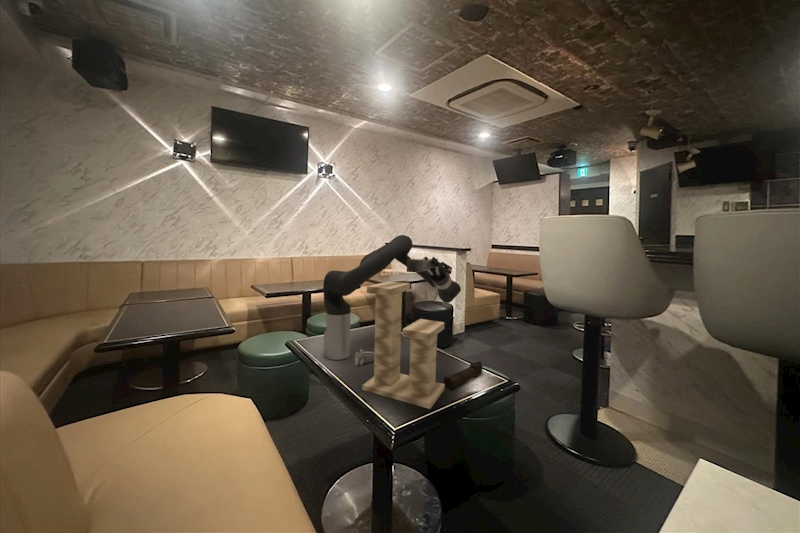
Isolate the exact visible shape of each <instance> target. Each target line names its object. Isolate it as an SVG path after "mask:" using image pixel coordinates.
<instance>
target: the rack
mask: <svg viewBox="0 0 800 533" xmlns="http://www.w3.org/2000/svg"><path fill="white" fill-rule="evenodd" d="M410 287H411V284H410V283H408V282H398V281H387V280H386V281H384V282H380V283H375V284H369V285H366V294H371V295H375V303H374V304H375V311H374V312H375V313H374V352H373V353H374V357H373V359H374V360H373V361H374V362H373V365H374V366H373V368H374V369H373V377H371V378H370V379H369V380H367V381H366V382H364V383H363V384H362V386H361V388H362V389H361V390H362V391H365V392H369V393H372V394H376V395H379V396H382V397H386V398H390V399H393V400H397V401H399V402H404V403H408V404H410V405H414V406H417V407H421V408H425V409H429V410H431V409H432V407H433V406H434V404H436V403H437V402H436V401H438V399H439V398H440V396H441V395H442V393H443V392H444V391H445V389H446V387H445V384H444V383H441V382H437V381H436V377H437V376H436V374H437V373H436V372H437V371H436V370H437V350H438V349H437V346H438V334H439V333H441V332H442V331H443V330H444V329H445V321H438V320H433V319H432V320H431V319H424V318H419V319H417V320H415V321H414V322H412V323H411V324H409V325H407V326H406V327H404V328H402V310H403V309H402V308H403V302H402V301H403V292H407V291H409V290H410V289H411V288H410ZM402 337H405V338H410V340H409V342H410V344H409V346H410V347H409V371H408V372H409V374H404V373H402V372H401V355H400V354H401V346H402V345H401V344H402V342H401V341H402Z"/></svg>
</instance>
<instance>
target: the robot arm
mask: <svg viewBox="0 0 800 533" xmlns="http://www.w3.org/2000/svg"><path fill="white" fill-rule="evenodd" d="M412 249H413V240H412V238H411V237H409V236H407V235H405V234H399V235H397V236H396V237H394V238H393V239H391V240H390V241H389V242H387V243H386V244H384V245H382V246H380V247H378V248H377V249H376V250H373V251H371V252H370V253H368V254H366V255H365V256H363V257H362V259H361V260H360V262H359V265H358V266H356V267H355V268H353V269H351V270H346V271H344V270H342V271H341V270H330V271H328V272H327V273H326V274H325V276H324V279H323V285H322V286H323V287H322V288H323V305H324V308H325V315H326V316H325V331H324V332H323V356H324V357H326V358H327V359H328V360H332V361H333V360H334V361H340V360H341V361H342V360H344V359H347V358H350V355H351V310H352V309H351V308H352V307H351V305H350V304H349V303H348V302H347V301H346V299H345V298H344V297H347V296H349V295H351V294H352V293H354V292H355V291H356V290H357V289H358V288H359V287H361V286H362V285H363V284H364V283H365V282H367V281H368V280H370V279H371V278H373V277H375V276H376V275H378V274H379V273H381V272H383V271H384V270H385V269H386V268H388V266H390V264H391V263H392V262H393V261H394V260H396V261H397V262H399V263H400V264H402V265H404V266H405V267H406V268H407V260H408V259H412V258H411V257H410V255H409V253H410V252H411V250H412ZM423 258H424V259H425V260H428V259H429V258H428V256H424V257H423ZM431 259H432V264H433V265H434V266H435V268H431V269H427V270H423V271H422V272H418V273H416V274H417V275H418V276H420V277H421V278H422V279H423V280H425V281H426V282H427V283H428V284H429V285H430V286H431V287H432V288H437V294H438V297H439V299H440V301H442V302H443V303H445V304H450V303H451V302H452V301H453V300H455V298H456V297H457V296H458V295H459V294H460V293H461V290H462V288H461V285H460V284H459V283H458V282H456V281H454V280H452V276H451V274H452V272H453V267H452V266H450V265H449V264H447V263H445V262H444V261H441V262H440V261H439V260H438V261H437V259H438V258H436V257H435V256H432V258H431Z"/></svg>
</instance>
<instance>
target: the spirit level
mask: <svg viewBox="0 0 800 533" xmlns="http://www.w3.org/2000/svg"><path fill="white" fill-rule="evenodd" d="M424 258H425V257H423V258H419V259H418V258H411V259H408V260H407V267H406V273H416V274H417V273H418V272H422V271H423V270H427V269H431V268H435V266H434V265H433V264H432V258H428V260H425V259H424ZM436 259H437V261H439V260H438V259H439V258H436Z"/></svg>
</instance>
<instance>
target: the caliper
mask: <svg viewBox="0 0 800 533" xmlns="http://www.w3.org/2000/svg"><path fill="white" fill-rule="evenodd" d="M374 353H375V352H373V351H364V350H363V349H362V348H360V349H359V348H358V349H357V351H356V352H355V356H354V366H355V367H358V365H359V367H361V366H362V365H363V364H364V361H365V359H366V360H373V358H374ZM400 356H402V354H401V353H400Z"/></svg>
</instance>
